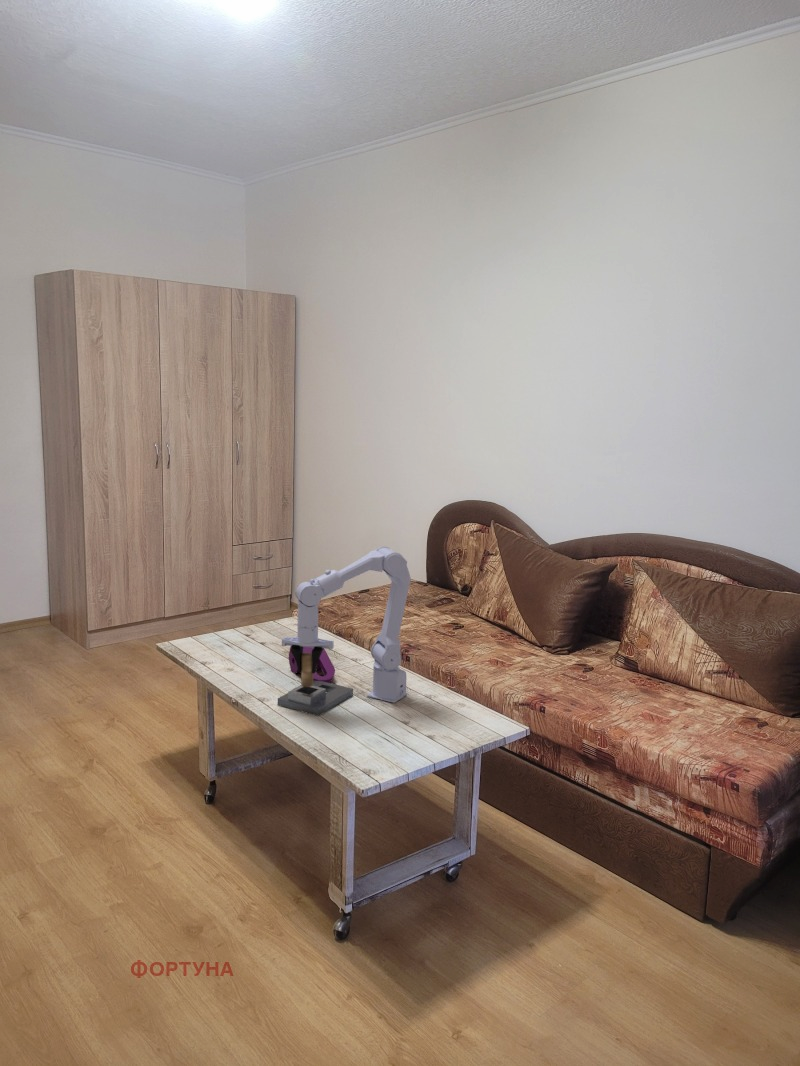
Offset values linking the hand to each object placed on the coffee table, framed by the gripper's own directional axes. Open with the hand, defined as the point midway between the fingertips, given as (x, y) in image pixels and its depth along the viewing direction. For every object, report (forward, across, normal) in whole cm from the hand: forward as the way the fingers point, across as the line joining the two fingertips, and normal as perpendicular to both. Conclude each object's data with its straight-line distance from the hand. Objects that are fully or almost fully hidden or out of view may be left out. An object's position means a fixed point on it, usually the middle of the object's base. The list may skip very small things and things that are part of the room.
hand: (307, 671), depth 227 cm
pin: (+4, 0, 0) cm, 4 cm away
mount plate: (+10, -2, -4) cm, 11 cm away
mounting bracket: (+10, +4, -23) cm, 25 cm away
